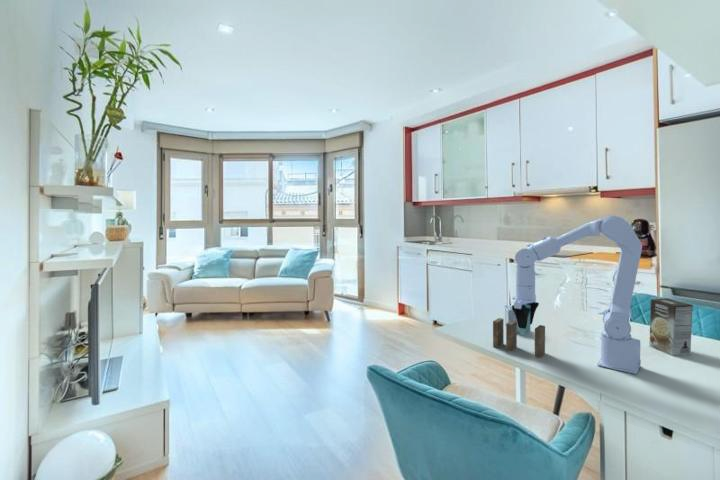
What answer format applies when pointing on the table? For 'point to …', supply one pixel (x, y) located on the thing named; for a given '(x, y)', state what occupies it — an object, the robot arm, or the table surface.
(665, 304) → the coffee box
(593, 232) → the robot arm
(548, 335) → the table surface
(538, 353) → the domino
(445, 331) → the table surface
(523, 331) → the domino
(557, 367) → the table surface
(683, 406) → the table surface
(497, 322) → the end domino
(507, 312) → the medicine box
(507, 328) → the domino
